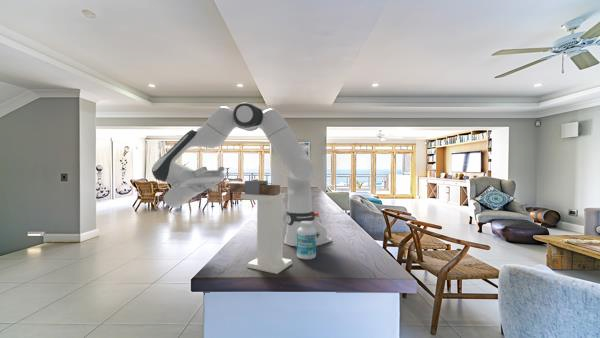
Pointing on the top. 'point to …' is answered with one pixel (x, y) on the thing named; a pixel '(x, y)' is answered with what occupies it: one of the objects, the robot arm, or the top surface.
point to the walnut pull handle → (263, 188)
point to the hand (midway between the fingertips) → (214, 168)
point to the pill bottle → (306, 241)
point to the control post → (267, 229)
